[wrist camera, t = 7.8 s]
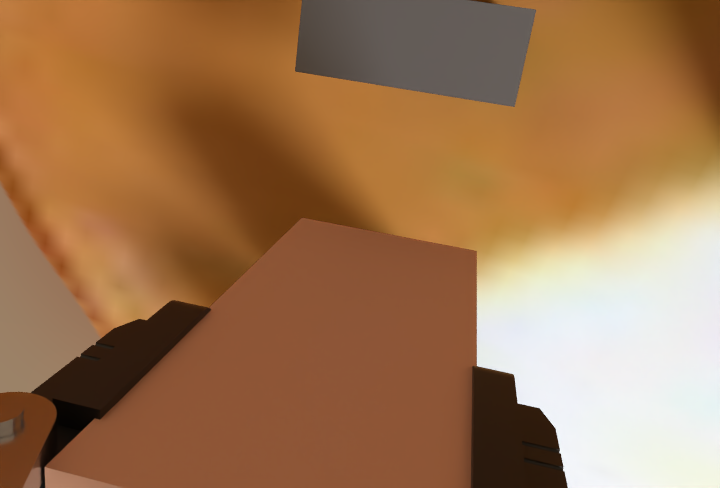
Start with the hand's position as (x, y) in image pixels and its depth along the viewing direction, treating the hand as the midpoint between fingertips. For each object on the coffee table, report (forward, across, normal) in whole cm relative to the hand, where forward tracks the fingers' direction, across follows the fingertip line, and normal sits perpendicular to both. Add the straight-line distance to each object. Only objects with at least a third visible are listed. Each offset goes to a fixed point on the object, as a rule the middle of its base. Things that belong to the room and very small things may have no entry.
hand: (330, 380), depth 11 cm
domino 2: (+15, 0, -6) cm, 16 cm away
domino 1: (+6, 0, 0) cm, 6 cm away
